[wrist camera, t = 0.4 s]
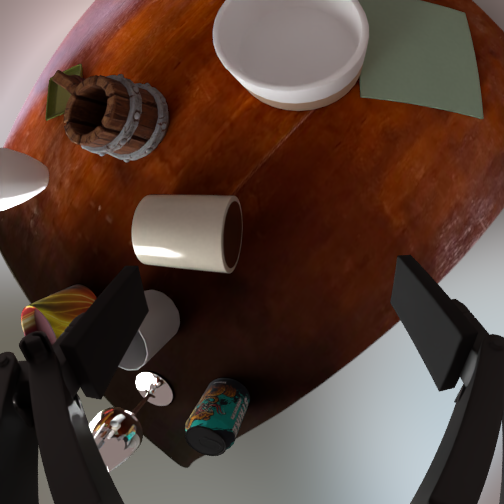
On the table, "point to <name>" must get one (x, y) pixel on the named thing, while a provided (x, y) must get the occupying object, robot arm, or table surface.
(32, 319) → the mug
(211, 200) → the tumbler
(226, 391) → the beverage can
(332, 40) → the bowl
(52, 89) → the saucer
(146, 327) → the cup
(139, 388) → the wineglass
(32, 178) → the cup
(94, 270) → the table surface
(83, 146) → the mug
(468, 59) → the mat
